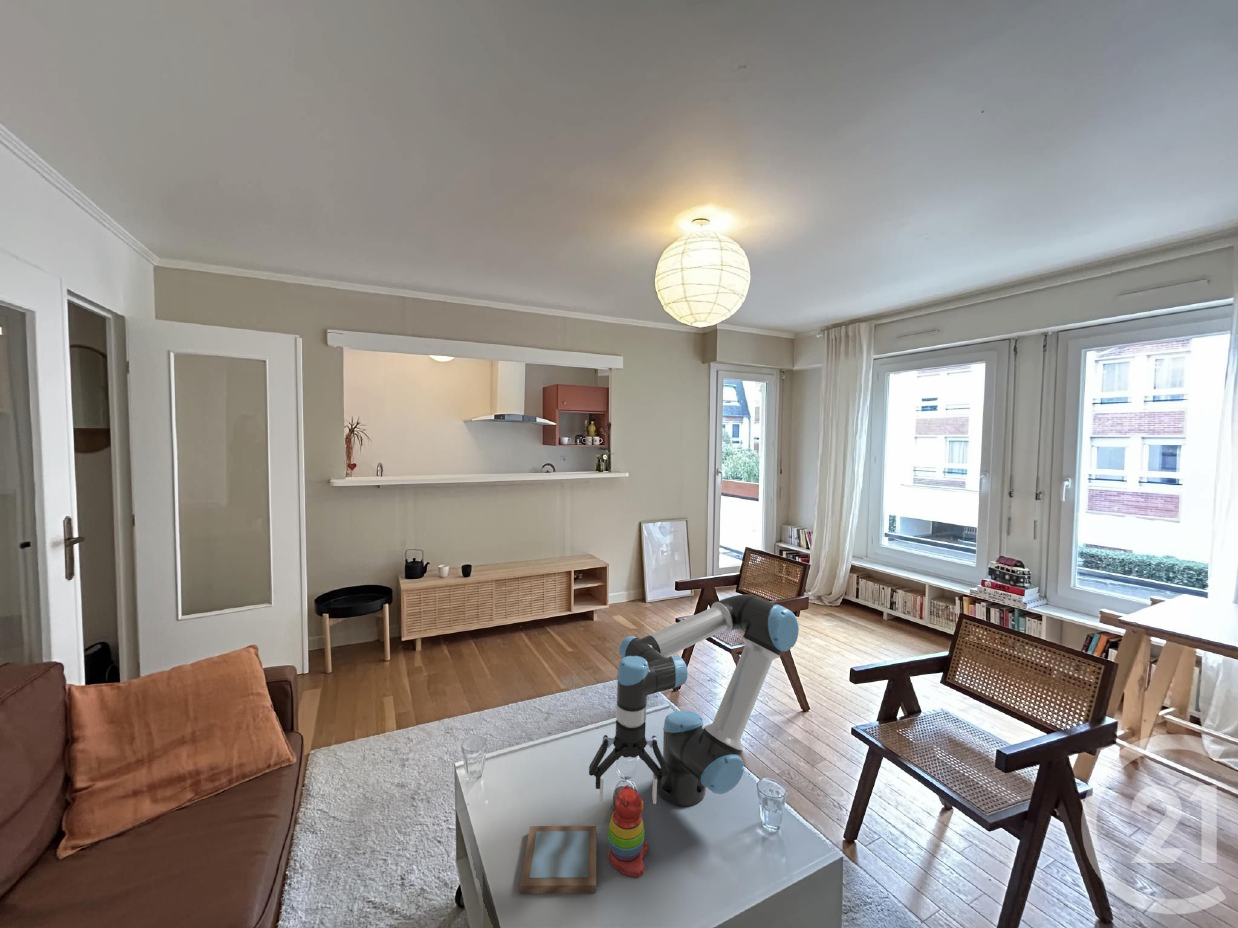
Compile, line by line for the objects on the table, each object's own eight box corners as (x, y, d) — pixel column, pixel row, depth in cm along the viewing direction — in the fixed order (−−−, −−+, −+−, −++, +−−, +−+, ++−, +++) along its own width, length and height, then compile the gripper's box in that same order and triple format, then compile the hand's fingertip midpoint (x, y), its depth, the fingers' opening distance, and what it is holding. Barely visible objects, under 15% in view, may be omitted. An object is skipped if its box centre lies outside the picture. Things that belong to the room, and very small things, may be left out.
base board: (596, 832, 139) (596, 824, 139) (595, 892, 121) (596, 884, 121) (530, 832, 138) (530, 825, 138) (519, 893, 120) (519, 885, 120)
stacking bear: (643, 879, 125) (645, 810, 124) (603, 870, 127) (604, 803, 126) (649, 844, 136) (651, 780, 134) (612, 837, 138) (614, 774, 136)
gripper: (677, 712, 133) (674, 789, 134) (581, 710, 132) (579, 788, 133) (682, 729, 125) (678, 810, 127) (580, 727, 124) (578, 810, 126)
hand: (627, 799), depth 130 cm, fingers open, 13 cm apart
